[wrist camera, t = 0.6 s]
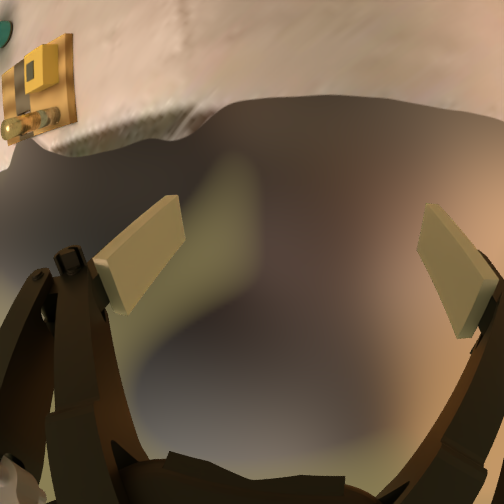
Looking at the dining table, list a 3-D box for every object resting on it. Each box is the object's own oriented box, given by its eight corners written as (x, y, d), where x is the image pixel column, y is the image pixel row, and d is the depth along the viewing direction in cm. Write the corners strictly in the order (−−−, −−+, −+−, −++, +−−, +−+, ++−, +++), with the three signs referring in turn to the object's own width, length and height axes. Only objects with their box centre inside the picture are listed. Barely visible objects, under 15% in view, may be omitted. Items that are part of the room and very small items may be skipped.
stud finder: (39, 55, 32) (23, 56, 29) (58, 44, 31) (41, 44, 28) (40, 91, 36) (24, 94, 33) (59, 82, 35) (41, 85, 32)
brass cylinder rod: (48, 108, 38) (-1, 122, 28) (59, 104, 37) (8, 117, 27) (50, 125, 40) (2, 142, 30) (61, 122, 39) (11, 137, 29)
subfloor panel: (8, 73, 36) (1, 75, 35) (72, 33, 32) (65, 33, 30) (14, 143, 45) (8, 146, 44) (77, 121, 41) (69, 123, 39)
